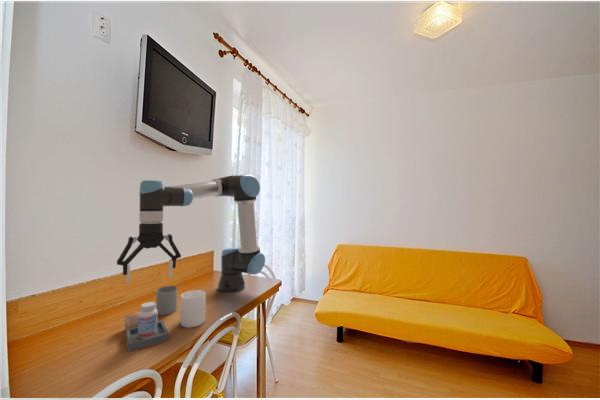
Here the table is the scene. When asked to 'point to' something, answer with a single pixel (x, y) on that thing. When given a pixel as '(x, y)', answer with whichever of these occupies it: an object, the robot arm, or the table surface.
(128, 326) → the beige block
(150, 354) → the table surface
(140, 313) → the pill bottle
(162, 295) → the cup
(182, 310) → the mug
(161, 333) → the tray
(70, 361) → the table surface
